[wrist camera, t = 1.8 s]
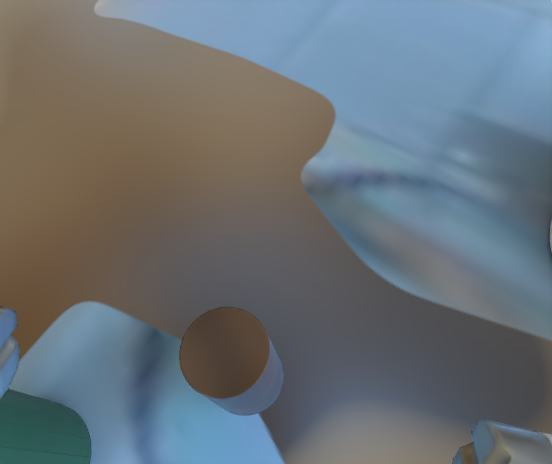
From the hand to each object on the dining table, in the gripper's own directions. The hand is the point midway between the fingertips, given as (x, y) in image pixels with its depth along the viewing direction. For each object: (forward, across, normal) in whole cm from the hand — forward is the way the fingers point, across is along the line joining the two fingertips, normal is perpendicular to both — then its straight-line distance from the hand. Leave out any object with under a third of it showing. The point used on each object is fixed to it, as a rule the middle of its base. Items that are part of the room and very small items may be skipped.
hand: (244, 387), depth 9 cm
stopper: (+20, -2, +23) cm, 31 cm away
